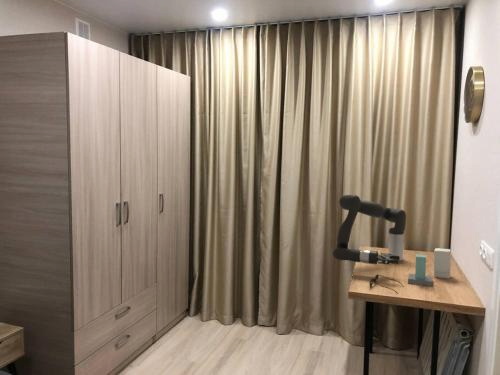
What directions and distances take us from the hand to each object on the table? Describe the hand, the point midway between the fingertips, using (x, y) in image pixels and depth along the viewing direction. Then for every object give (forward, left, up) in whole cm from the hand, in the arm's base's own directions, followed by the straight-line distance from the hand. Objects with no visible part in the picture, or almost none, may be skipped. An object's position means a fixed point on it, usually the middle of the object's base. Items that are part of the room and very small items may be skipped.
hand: (399, 259), depth 225 cm
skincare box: (-15, +22, -11) cm, 29 cm away
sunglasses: (+17, -4, -12) cm, 21 cm away
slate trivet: (0, +11, -11) cm, 16 cm away
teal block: (0, +11, -8) cm, 14 cm away
